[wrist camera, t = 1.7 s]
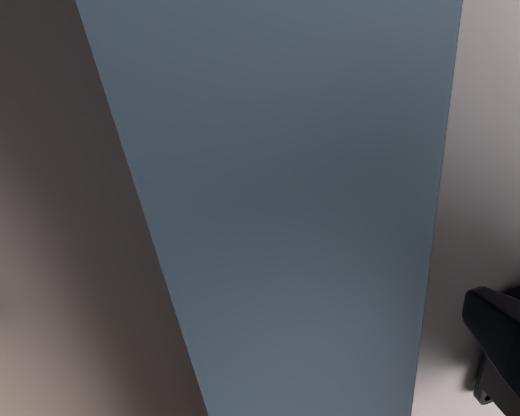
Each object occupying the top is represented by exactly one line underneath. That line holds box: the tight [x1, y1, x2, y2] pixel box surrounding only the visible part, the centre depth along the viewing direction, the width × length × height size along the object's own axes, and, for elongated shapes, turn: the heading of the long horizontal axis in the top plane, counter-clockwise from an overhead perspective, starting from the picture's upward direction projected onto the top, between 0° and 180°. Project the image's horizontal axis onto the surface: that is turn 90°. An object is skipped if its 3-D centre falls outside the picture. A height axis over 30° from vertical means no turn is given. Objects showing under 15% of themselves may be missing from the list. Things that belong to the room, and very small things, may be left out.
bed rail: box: [75, 0, 463, 416], centre depth 10 cm, size 4×22×4 cm, turn 7°
